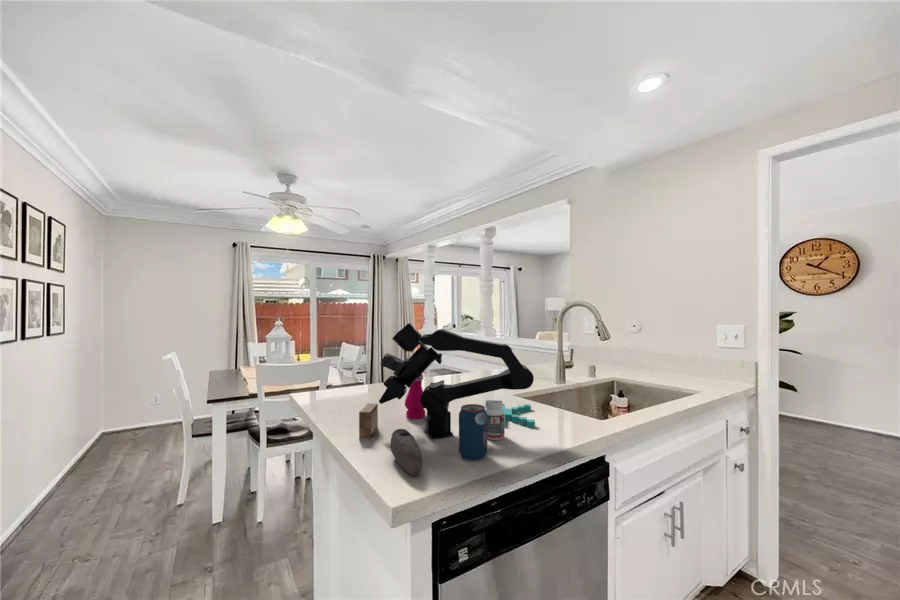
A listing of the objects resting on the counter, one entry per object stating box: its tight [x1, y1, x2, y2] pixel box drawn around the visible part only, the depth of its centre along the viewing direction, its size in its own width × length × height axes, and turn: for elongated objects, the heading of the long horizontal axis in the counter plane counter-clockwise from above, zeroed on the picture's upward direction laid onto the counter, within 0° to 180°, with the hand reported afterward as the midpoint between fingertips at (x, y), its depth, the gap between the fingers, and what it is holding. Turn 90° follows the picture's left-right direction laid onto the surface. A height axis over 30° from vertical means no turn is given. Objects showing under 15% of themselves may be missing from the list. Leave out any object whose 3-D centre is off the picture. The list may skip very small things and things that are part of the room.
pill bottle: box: [485, 398, 506, 441], centre depth 106 cm, size 6×6×10 cm
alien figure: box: [483, 402, 536, 429], centre depth 125 cm, size 20×2×20 cm
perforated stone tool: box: [390, 428, 423, 476], centre depth 87 cm, size 15×5×7 cm, turn 22°
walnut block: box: [358, 403, 379, 440], centre depth 110 cm, size 3×9×8 cm, turn 177°
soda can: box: [458, 403, 488, 462], centre depth 93 cm, size 7×7×12 cm
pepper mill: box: [404, 373, 426, 420], centre depth 126 cm, size 7×7×20 cm
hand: (380, 402), depth 110 cm, fingers closed
